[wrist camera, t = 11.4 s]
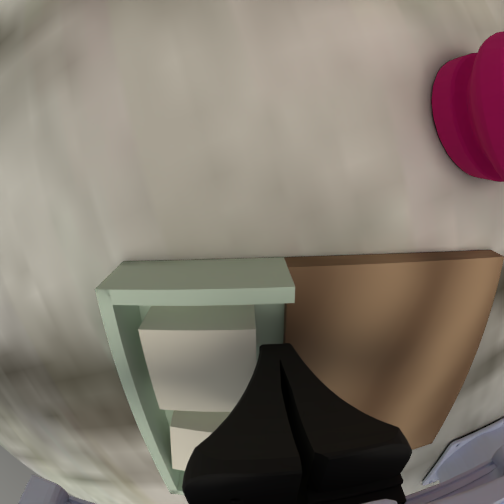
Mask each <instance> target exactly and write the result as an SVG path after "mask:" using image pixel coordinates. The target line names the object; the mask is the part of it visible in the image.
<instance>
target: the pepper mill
mask: <svg viewBox="0 0 504 504" xmlns="http://www.w3.org/2000/svg"><path fill="white" fill-rule="evenodd" d="M432 110H433V118H434V122H435V125H436V129H437V132H438V136H439V138H440V140H441V142H442V145H443V146H444V148H445V150H446V152H447V154H448V155H449V156H450V158H451V159H452V160H453V161H454V163H455V164H456V165H457V166H458V167H459V168H461V169H462V170H463V171H464V172H466V173H467V174H469V175H471V176H474V177H478V178H483V179H488V180H493V181H499V182H502V181H504V32H498V33H495V34H494V35H492V36H490V37H489V38H488V39H486V40H485V41H484V43H483V44H482V45H481V47H480V49H479V51H478V53H471V54H468V55H465V56H462V57H459V58H456V59H453V60H451V61H449V62H447V63H446V64H445V65H444V66H442V67H441V69H440V70H439V72H438V73H437V76H436V79H435V82H434V84H433V92H432Z"/></svg>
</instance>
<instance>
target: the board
mask: <svg viewBox="0 0 504 504" xmlns="http://www.w3.org/2000/svg"><path fill="white" fill-rule="evenodd" d="M284 259H285V262H286V264H287V267H288V269H289V272H290V274H291V277H292V280H293V282H294V285H295V303H284V335H283V343H290V344H291V345H292V346H293V347H294V349H295V350H296V352H297V353H298V355H299V356H300V357H301V359H302V360H303V361H304V363H305V364H306V365H307V366H308V367H309V369H310V370H311V371H312V372H313V373H314V374H315V375H316V376H317V377H318V378H319V379H320V380H321V381H322V382H323V383H324V384H325V385H326V386H327V387H328V388H329V389H330V390H331V391H332V392H334V393H335V394H336V395H337V396H339V397H340V398H341V399H343V400H344V401H345V402H347V403H348V404H350V405H352V406H353V407H355V408H357V409H358V410H360V411H362V412H364V413H365V414H367V415H369V416H372V417H374V418H376V419H378V420H380V421H383V422H386V423H388V424H391V425H394V426H397V427H399V428H400V430H401V431H402V433H403V434H404V435H405V437H406V439H407V441H408V443H409V445H410V447H411V449H416V448H419V447H422V446H425V445H428V444H431V443H432V442H433V440H434V439H435V437H436V435H437V434H438V432H439V430H440V428H441V427H442V425H443V423H444V421H445V419H446V417H447V416H448V414H449V412H450V410H451V408H452V406H453V404H454V402H455V400H456V398H457V396H458V394H459V392H460V390H461V387H462V385H463V383H464V381H465V379H466V376H467V374H468V372H469V369H470V367H471V365H472V362H473V360H474V357H475V355H476V352H477V349H478V347H479V344H480V341H481V339H482V336H483V333H484V330H485V327H486V324H487V321H488V318H489V314H490V311H491V308H492V304H493V301H494V297H495V293H496V290H497V286H498V282H499V278H500V273H501V269H502V264H503V259H504V256H502V255H500V254H498V253H496V252H494V251H492V250H477V251H452V252H426V253H398V254H370V255H340V256H309V257H284Z"/></svg>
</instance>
